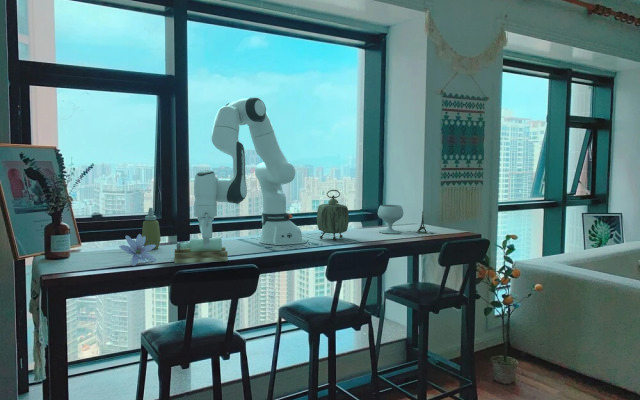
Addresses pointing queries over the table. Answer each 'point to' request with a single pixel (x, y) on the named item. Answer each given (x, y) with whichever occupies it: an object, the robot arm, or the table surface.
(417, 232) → the eiffel tower figurine
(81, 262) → the table surface
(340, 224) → the tabletop clock
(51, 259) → the table surface
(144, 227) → the squeeze bottle
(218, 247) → the bottle
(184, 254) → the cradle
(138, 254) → the water lily
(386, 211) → the chalice
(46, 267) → the table surface
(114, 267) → the table surface
